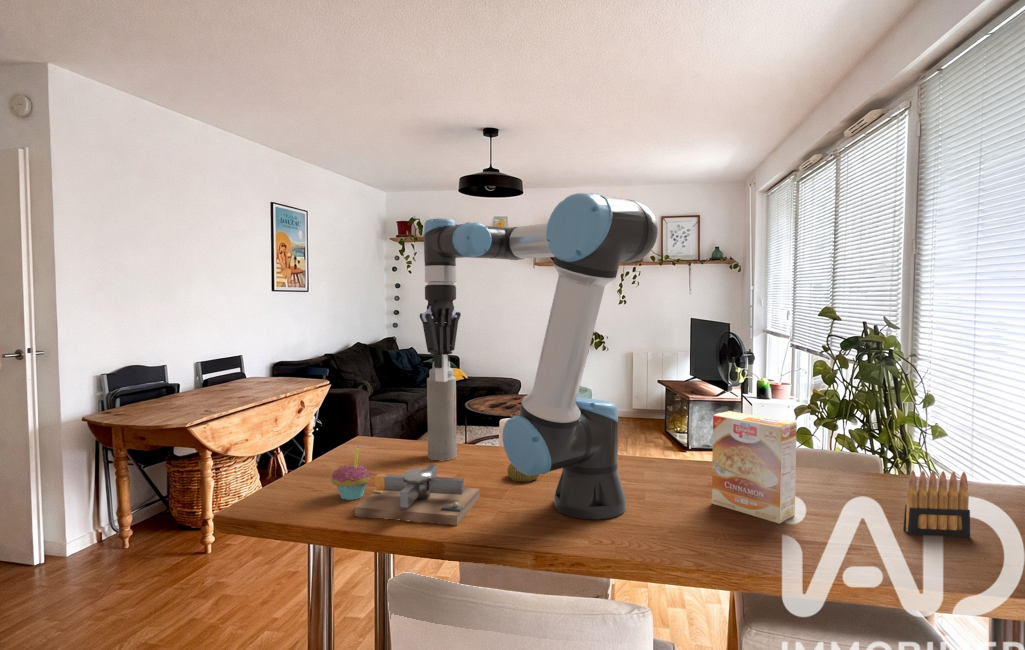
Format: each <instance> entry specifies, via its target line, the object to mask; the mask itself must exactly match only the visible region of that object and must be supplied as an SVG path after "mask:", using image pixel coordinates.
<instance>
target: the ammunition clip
mask: <svg viewBox="0 0 1025 650" xmlns="http://www.w3.org/2000/svg"><path fill="white" fill-rule="evenodd" d="M928 478H929V479H928V485H927V476H926V472H925V470H922V471H921V472H920V475H919V479H918V486H917V476H916V472H915V471H914V470H913V469H912V471H911V472H910V474H909V479H908V486H907V491H906V504H905V505H904V518H903V528H902V530H903V531H904V532H905V533H906V534H908V535H910V536H931V537H951V538H952V537H953V538H955V537H956V538H971V510H970V509H969V502H970V501H969V491H968V490H969V488H968V486H969V484H968V477H967V474H966V472H965V471H963V472H962V473H961V475H960V480H959V487H958V479H957V475H956V472H955V471H952V472H951V474H950V477H949V481H948V482H949V483H948V482H947V476H946V472H945V471H944V470H943V471H942V470H941V473H940V476H939V480H938V481H937V476H936V473H935V471H934V470H932V471H931V473H930V475H929V477H928ZM937 482H938V484H937ZM947 483H948V484H949V485H947ZM937 485H938V486H937ZM917 487H918V488H917ZM937 488H938V489H937Z"/></svg>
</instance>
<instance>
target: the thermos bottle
mask: <svg viewBox="0 0 1025 650" xmlns="http://www.w3.org/2000/svg"><path fill="white" fill-rule="evenodd" d="M450 359H451V358H450V357H448V363H449V365H448V381H446V382H439V381H435V367H434V357H432V358H431V361H432V368H430V369H429V373H428V375H429V377H427V378H426V390H427V391H426V399H427V400H426V401H427V402H426V405H427V408H426V411H427V458H429V459H428V460H430V459H431V460H430V461H433V460H449V461H451V460H450V459H453V458H455V457H456V456H457V451H458V450H457V446H458V445H457V443H458V441H457V381H456V380H457V378H456V377H455V376H454V374H455V372H454V369H453V368H452V367H451V362H450V361H451V360H450ZM456 458H457V457H456ZM456 458H455V459H456ZM453 460H454V459H453Z"/></svg>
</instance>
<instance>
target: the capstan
mask: <svg viewBox="0 0 1025 650" xmlns="http://www.w3.org/2000/svg"><path fill="white" fill-rule="evenodd" d="M437 473H438V471H437V464H431V463H430V464H428V466H426V467H425V468H418V467H417V468H411V469H407V470H405V471H403V473H402V474H387V473H378V474H376V475H375V490H378V491H401V492H400V507H409V506H410V505H411V504H412V503H413V502H414V501H415V500H416V499H425V498H428V497H429V496H430V493H438V494H457V495H462V494H463V493H464V488H465V486H464V485H465V481H464V478H463V477H448V476H447V477H446V476H445V477H444V476H441V477H440V476H437V475H438V474H437Z"/></svg>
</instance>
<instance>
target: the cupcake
mask: <svg viewBox="0 0 1025 650" xmlns="http://www.w3.org/2000/svg"><path fill="white" fill-rule="evenodd" d="M359 447H360V445H359V444H358V445H357V448H355V454H354V464H346V465H344V466H343V465H342V466H339V467H338V468H337V469H336V470H335V471H334V472H333V473H332V474H331V479H330V480H331V483H332V484H333V485H334V486H336V488H337V490H338V493H339V495H340V498H341V499H342V500H344V499H345V501H353V500H354V499H355V500H358V498H359V499H361V498H362V497H363V495H364V493H365V490H366V489H365V488H366V486H367V483H369V482H370V481H371V476H372V473H371V471H370V470H369V469H368V468H366V467H365V466H363V465H361V464H358V460H359V452H360V448H359ZM355 500H354V501H355Z"/></svg>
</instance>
